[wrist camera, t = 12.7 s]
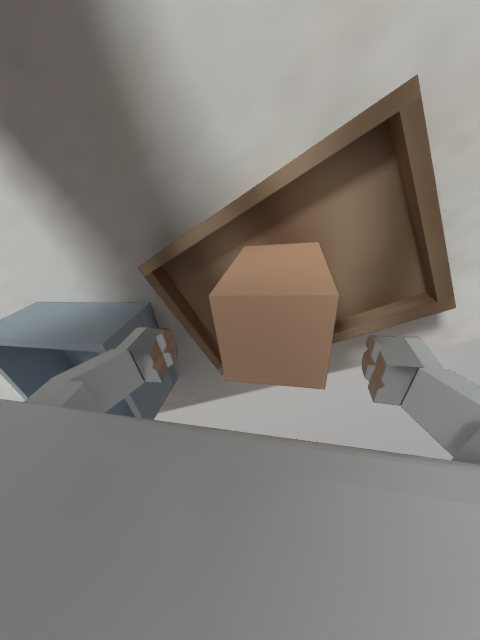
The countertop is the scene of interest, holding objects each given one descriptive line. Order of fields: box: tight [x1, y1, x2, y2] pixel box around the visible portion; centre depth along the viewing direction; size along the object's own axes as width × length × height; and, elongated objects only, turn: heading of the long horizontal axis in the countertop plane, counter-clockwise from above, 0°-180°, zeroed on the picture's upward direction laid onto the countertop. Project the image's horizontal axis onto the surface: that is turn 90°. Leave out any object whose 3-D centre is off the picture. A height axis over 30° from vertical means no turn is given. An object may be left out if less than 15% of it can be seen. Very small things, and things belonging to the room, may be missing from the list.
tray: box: [138, 74, 456, 375], centre depth 16 cm, size 18×12×2 cm, turn 121°
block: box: [209, 242, 339, 389], centre depth 13 cm, size 5×5×8 cm
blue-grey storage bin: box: [0, 302, 177, 420], centre depth 23 cm, size 11×15×6 cm
